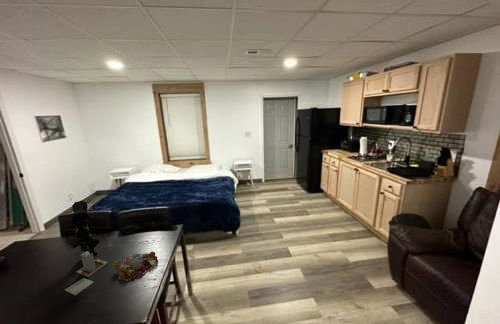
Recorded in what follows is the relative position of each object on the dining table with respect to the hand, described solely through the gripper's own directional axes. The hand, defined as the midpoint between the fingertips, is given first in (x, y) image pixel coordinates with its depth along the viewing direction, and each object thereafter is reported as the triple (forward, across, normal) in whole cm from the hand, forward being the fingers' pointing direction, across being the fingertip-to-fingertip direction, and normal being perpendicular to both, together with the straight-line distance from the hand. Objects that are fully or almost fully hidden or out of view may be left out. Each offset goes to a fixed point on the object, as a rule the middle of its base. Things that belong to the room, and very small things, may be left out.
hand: (87, 252), depth 134 cm
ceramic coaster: (+13, +8, -12) cm, 19 cm away
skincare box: (+13, -2, 0) cm, 13 cm away
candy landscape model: (+14, +26, +13) cm, 32 cm away
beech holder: (+13, -1, +1) cm, 13 cm away
